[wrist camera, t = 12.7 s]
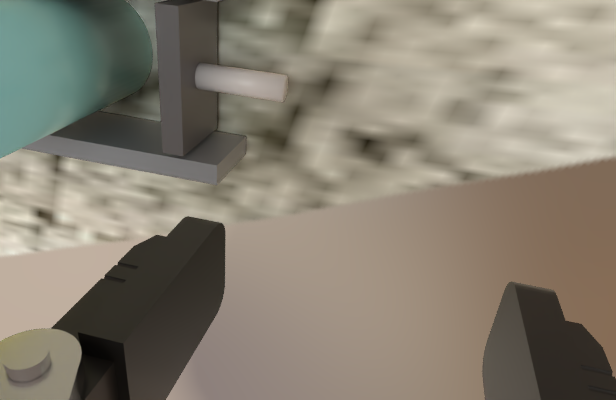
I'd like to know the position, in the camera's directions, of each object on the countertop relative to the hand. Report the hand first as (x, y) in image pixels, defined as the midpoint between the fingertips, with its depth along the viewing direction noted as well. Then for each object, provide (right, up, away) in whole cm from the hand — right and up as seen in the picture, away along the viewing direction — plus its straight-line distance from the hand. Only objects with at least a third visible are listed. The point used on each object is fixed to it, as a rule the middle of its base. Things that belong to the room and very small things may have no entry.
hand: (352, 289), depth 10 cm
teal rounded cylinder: (-11, +10, +16) cm, 22 cm away
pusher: (-4, +8, +14) cm, 17 cm away
